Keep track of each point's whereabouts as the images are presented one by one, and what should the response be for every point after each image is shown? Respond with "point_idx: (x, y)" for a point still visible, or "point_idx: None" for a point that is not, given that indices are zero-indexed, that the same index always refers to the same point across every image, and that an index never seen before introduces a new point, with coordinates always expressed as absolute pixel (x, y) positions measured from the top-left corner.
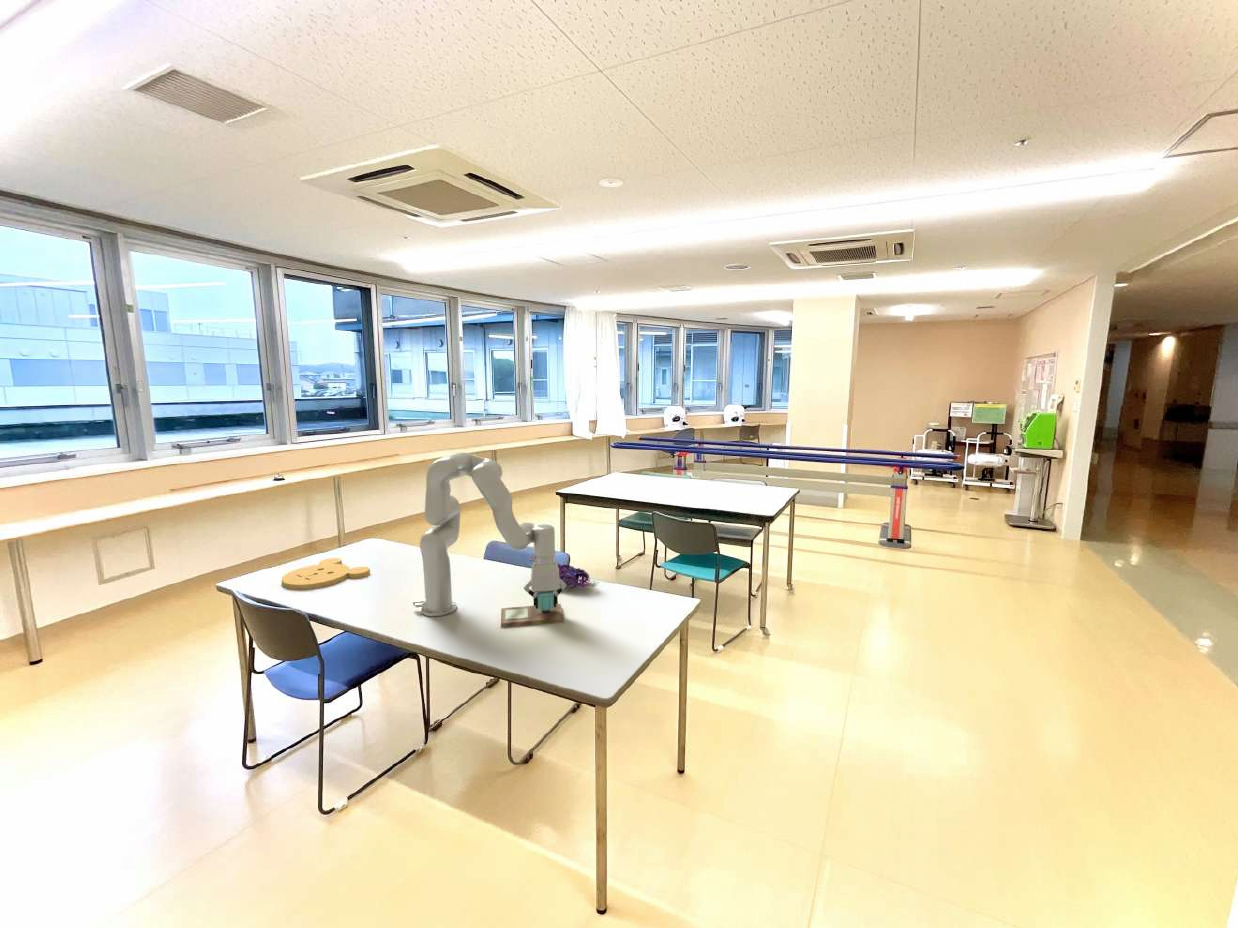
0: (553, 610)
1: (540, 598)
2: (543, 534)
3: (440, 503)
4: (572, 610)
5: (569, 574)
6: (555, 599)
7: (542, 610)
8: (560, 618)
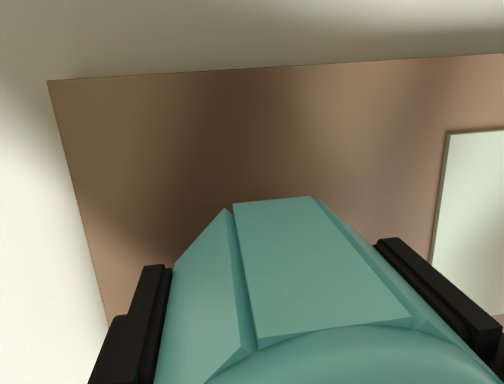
0: None
1: (429, 312)
2: None
3: None
4: (17, 325)
5: None
6: (125, 342)
7: None
8: (90, 79)
